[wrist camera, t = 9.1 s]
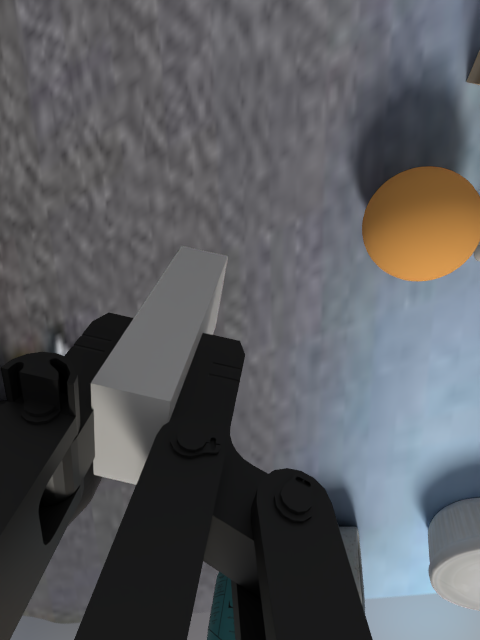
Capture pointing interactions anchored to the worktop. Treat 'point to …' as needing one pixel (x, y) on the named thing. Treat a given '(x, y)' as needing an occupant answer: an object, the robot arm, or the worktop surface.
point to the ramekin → (456, 553)
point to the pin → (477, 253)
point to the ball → (422, 223)
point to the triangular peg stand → (475, 72)
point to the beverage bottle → (222, 611)
